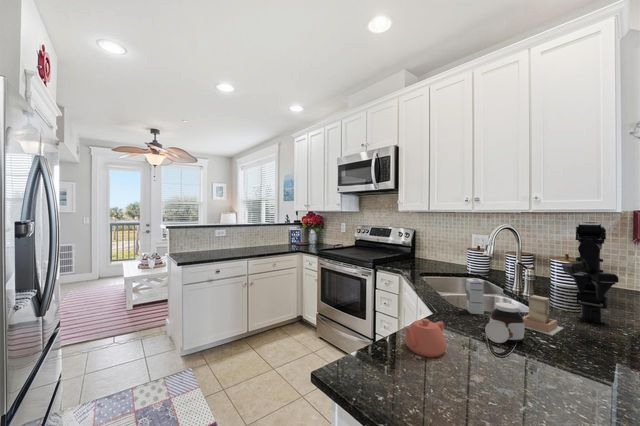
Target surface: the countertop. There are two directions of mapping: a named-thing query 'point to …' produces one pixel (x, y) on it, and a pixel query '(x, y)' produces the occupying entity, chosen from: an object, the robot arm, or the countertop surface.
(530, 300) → the maple peg
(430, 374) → the countertop surface
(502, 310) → the spread jar
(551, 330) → the pink rectangular tray
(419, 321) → the teapot
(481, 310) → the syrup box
